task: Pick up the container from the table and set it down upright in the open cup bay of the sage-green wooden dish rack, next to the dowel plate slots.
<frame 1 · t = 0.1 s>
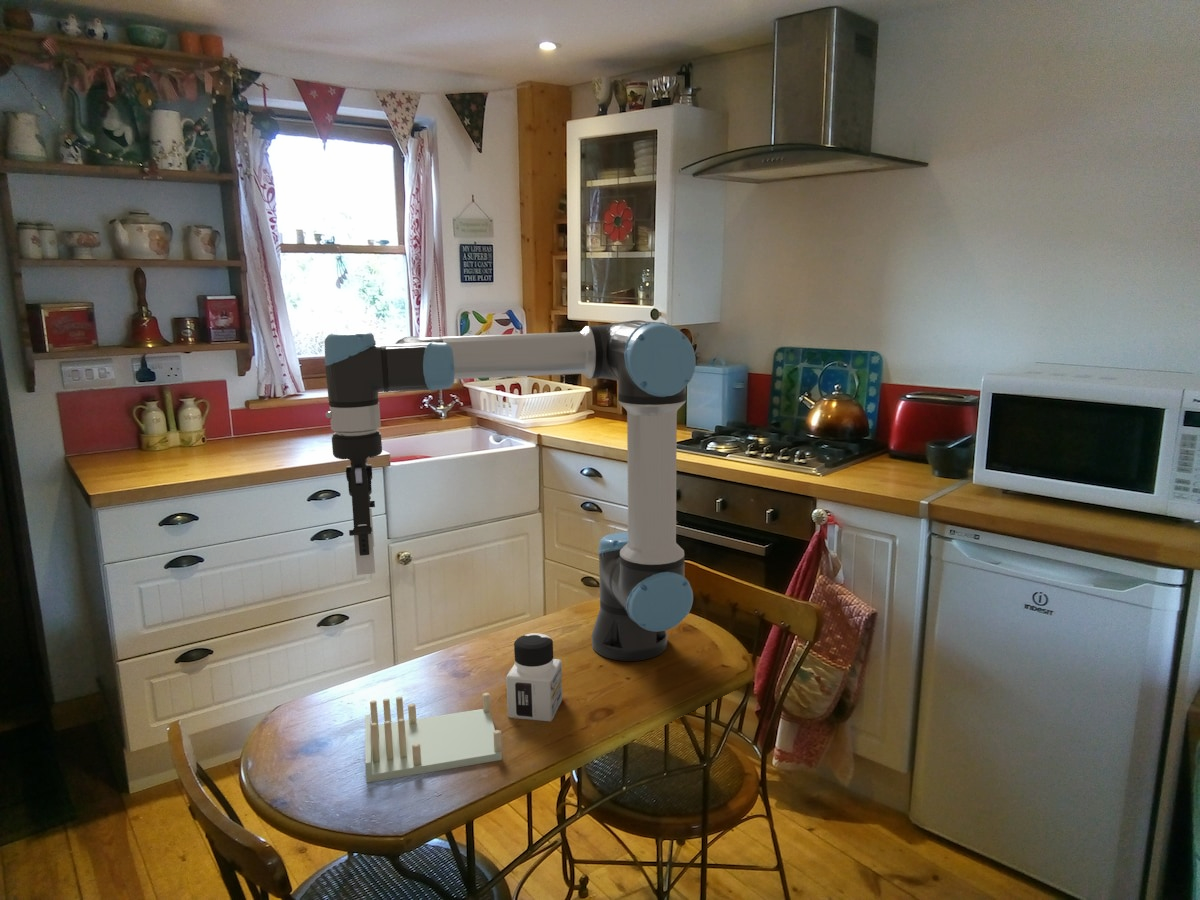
hand: (366, 559, 133), 28 cm above the table, fingers open, 13 cm apart
dish rack: (432, 746, 130), on the table
container: (535, 709, 140), on the table
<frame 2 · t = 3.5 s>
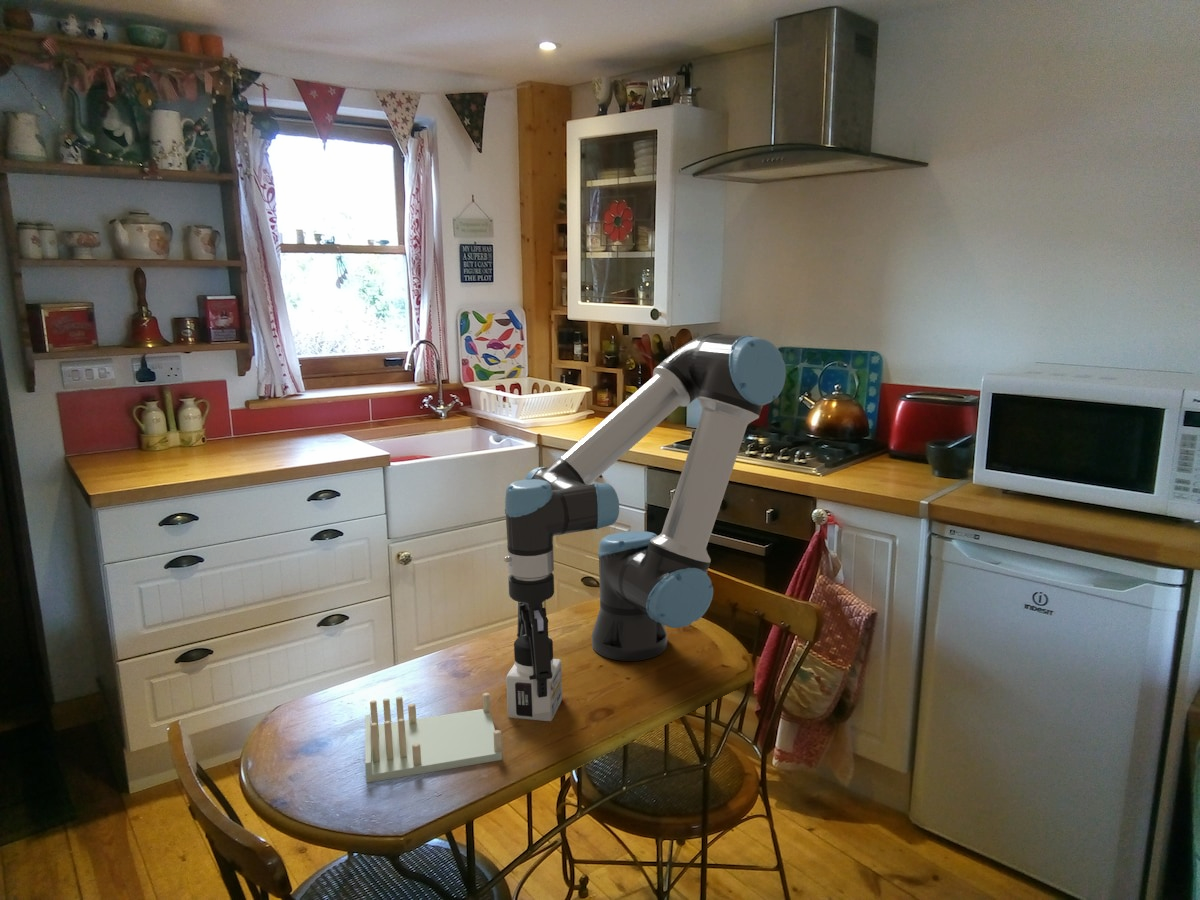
hand: (535, 696, 140), 2 cm above the table, fingers closed on container, 10 cm apart
container: (535, 709, 141), on the table, touching gripper
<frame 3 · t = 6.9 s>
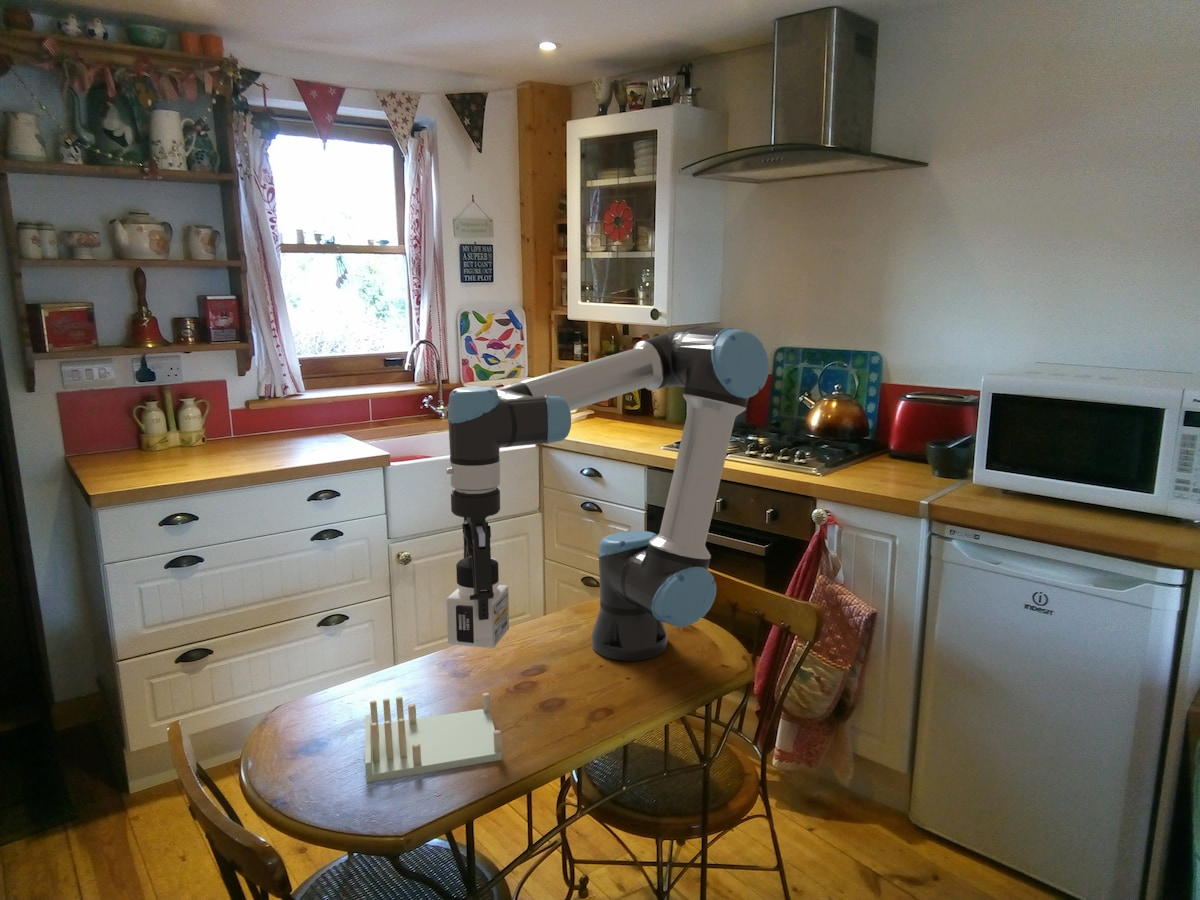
hand: (478, 623, 130), 19 cm above the table, fingers closed on container, 10 cm apart
container: (479, 638, 131), point 16 cm above the table, touching gripper
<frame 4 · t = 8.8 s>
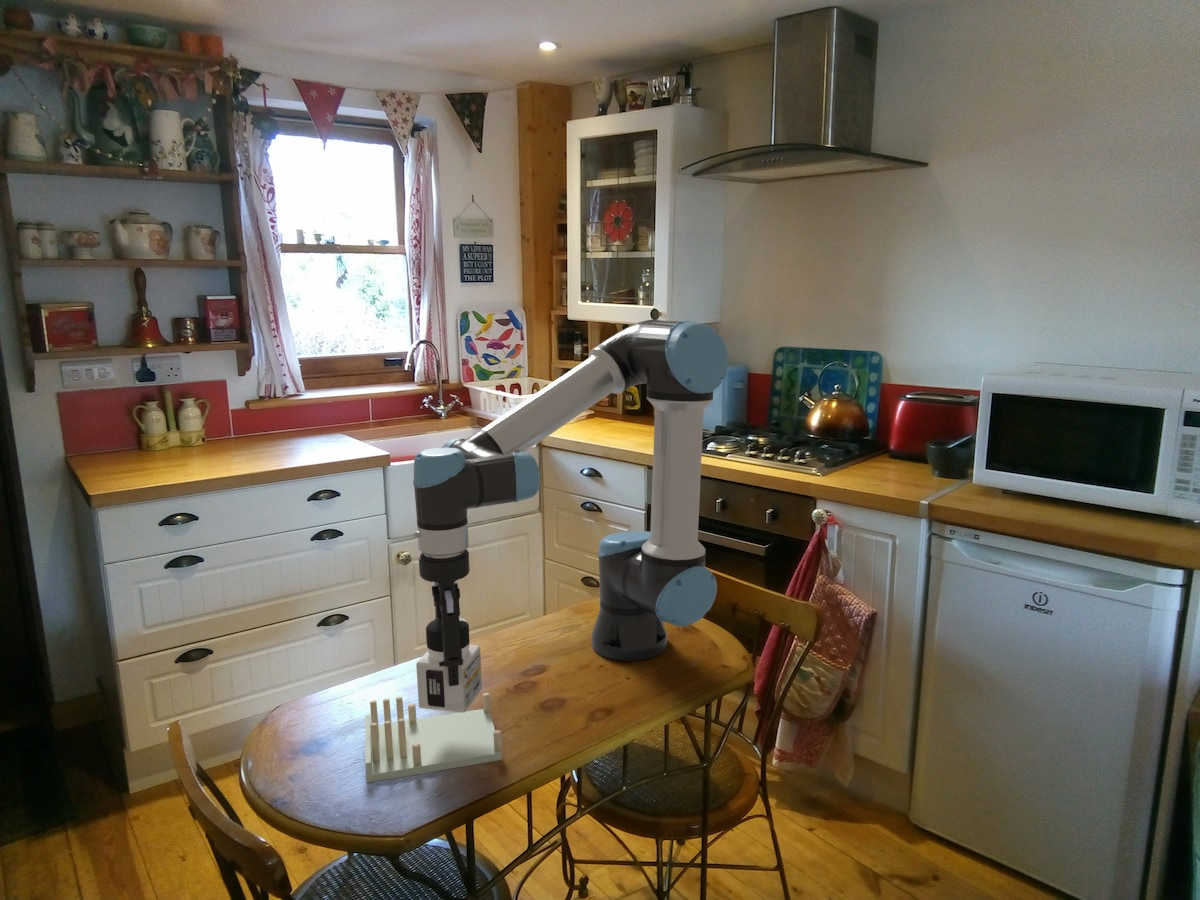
hand: (450, 685, 128), 10 cm above the table, fingers closed on container, 10 cm apart
container: (451, 700, 129), point 7 cm above the table, touching gripper
when the fingers open (5 cm above the table, at t = 10.2 s): container drops 2 cm, resting on dish rack.
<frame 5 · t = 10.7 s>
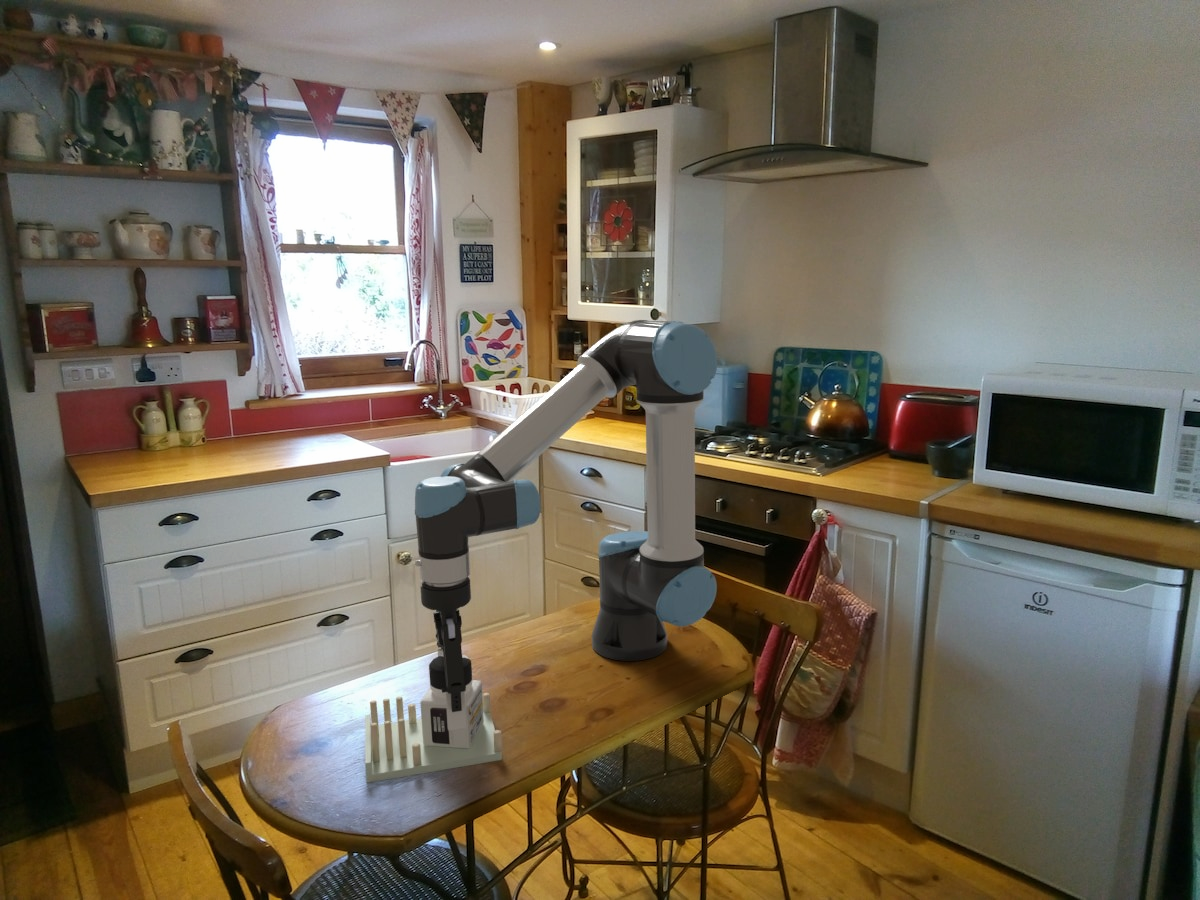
hand: (452, 705, 129), 6 cm above the table, fingers open, 13 cm apart
container: (454, 735, 131), point 1 cm above the table, touching dish rack
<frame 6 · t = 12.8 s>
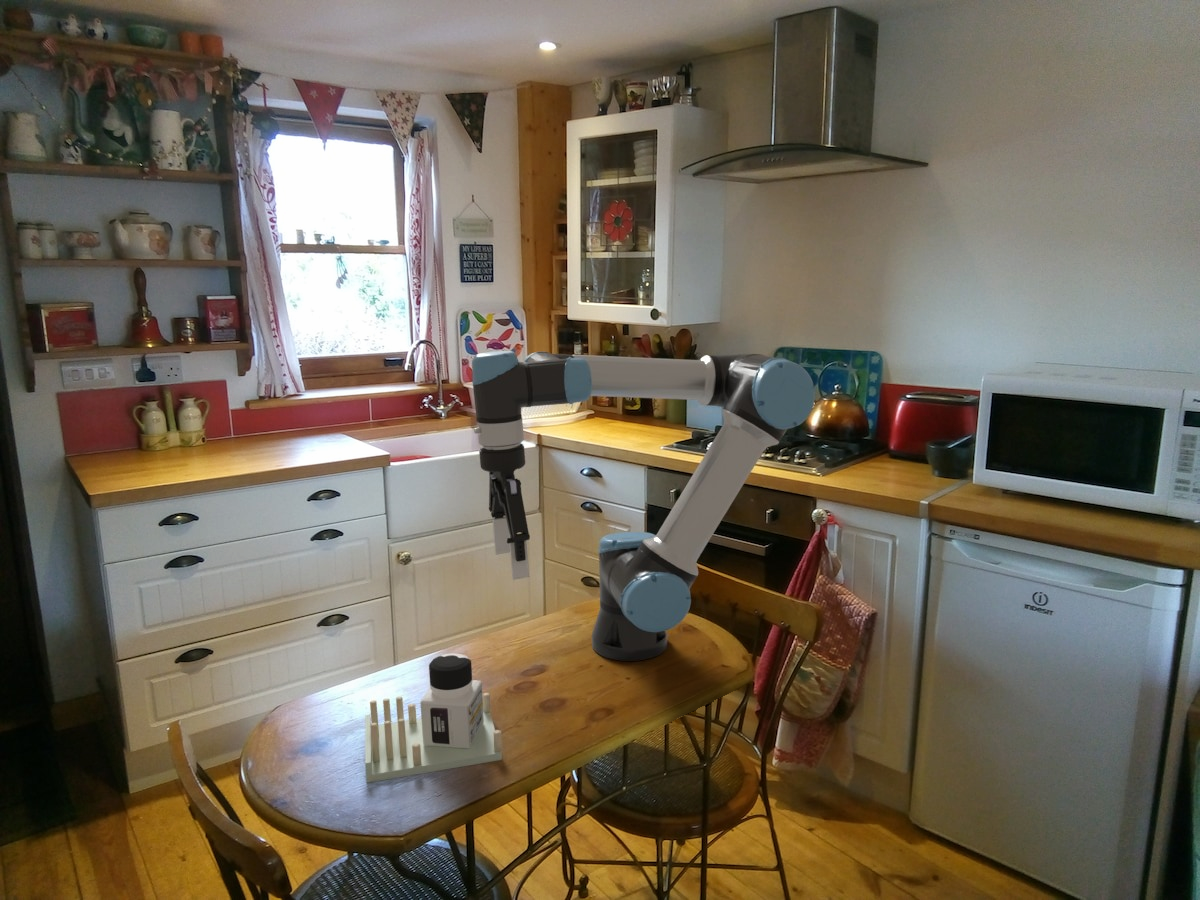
hand: (511, 565, 141), 24 cm above the table, fingers open, 13 cm apart
nothing on the table moved.
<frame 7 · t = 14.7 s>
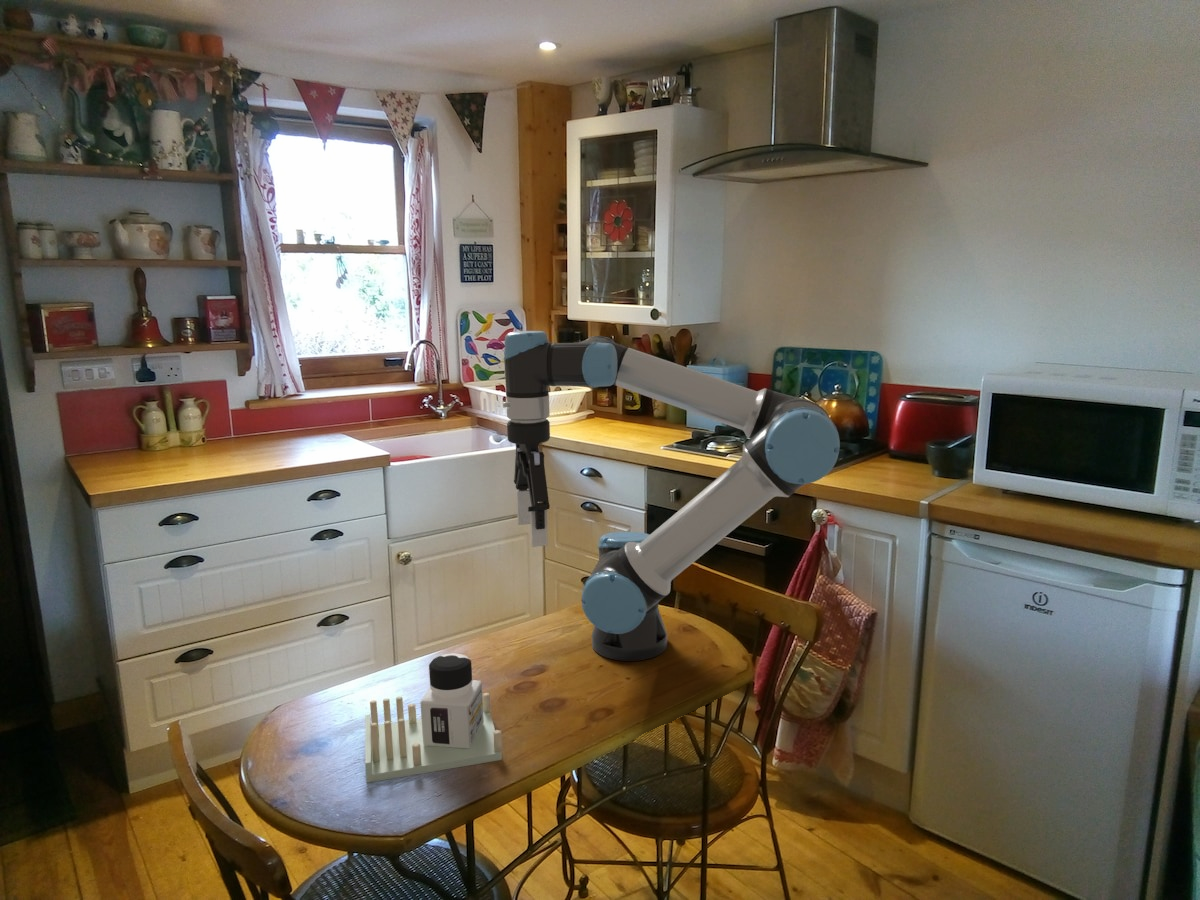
hand: (532, 534, 149), 27 cm above the table, fingers open, 13 cm apart
nothing on the table moved.
at the end: container inside the target area on the dish rack (0.3 cm from its centre), point 1.0 cm above the dish rack's base; container tilted 0°; the gripper is holding nothing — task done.
